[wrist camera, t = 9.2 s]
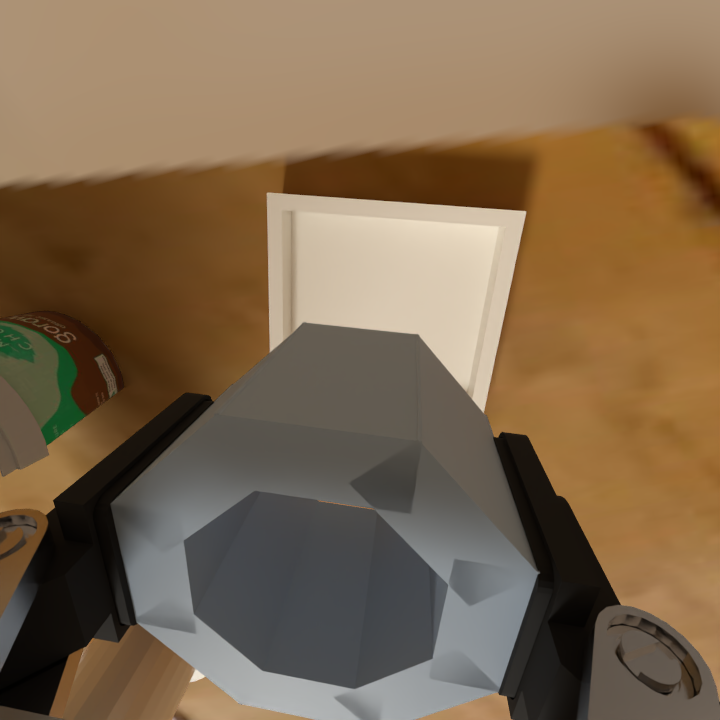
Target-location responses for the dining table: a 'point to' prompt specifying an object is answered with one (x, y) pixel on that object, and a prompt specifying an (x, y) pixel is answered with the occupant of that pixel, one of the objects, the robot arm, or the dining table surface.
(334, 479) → the ring
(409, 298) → the tray
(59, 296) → the dining table surface
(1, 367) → the food container
